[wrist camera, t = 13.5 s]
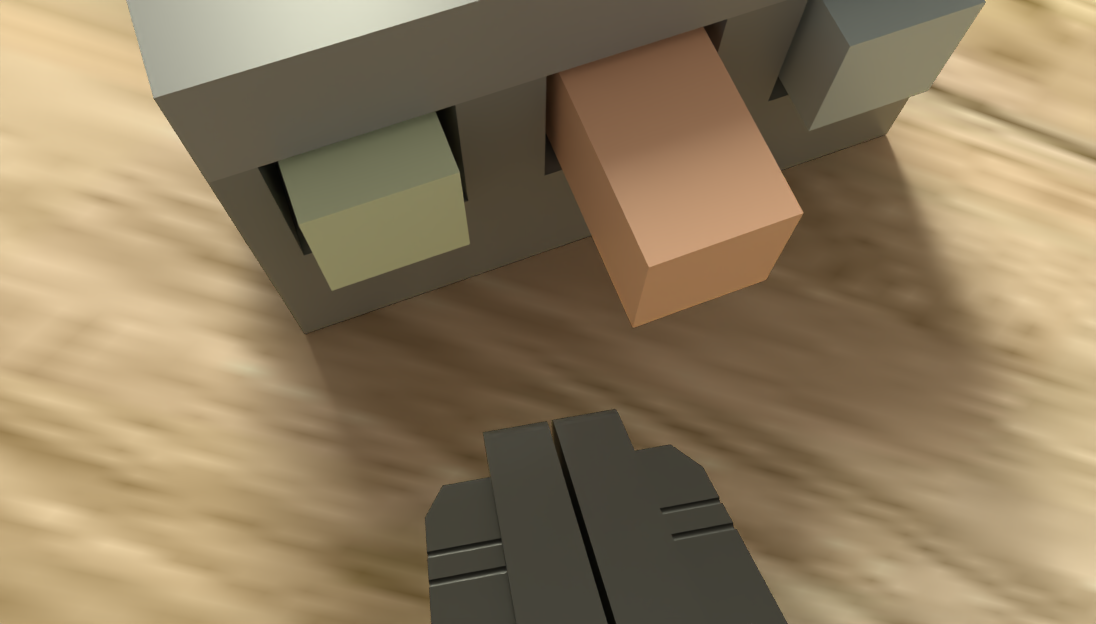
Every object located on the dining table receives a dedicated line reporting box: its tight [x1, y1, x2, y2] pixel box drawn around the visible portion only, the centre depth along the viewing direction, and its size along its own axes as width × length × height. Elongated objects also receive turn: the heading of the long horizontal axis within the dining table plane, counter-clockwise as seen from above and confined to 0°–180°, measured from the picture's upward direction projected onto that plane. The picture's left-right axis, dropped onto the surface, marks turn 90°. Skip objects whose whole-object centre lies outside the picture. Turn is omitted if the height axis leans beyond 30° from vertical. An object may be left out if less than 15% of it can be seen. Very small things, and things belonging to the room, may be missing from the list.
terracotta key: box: [545, 27, 803, 328], centre depth 28 cm, size 4×8×4 cm, turn 21°
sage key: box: [278, 112, 470, 291], centre depth 29 cm, size 4×8×4 cm, turn 21°
